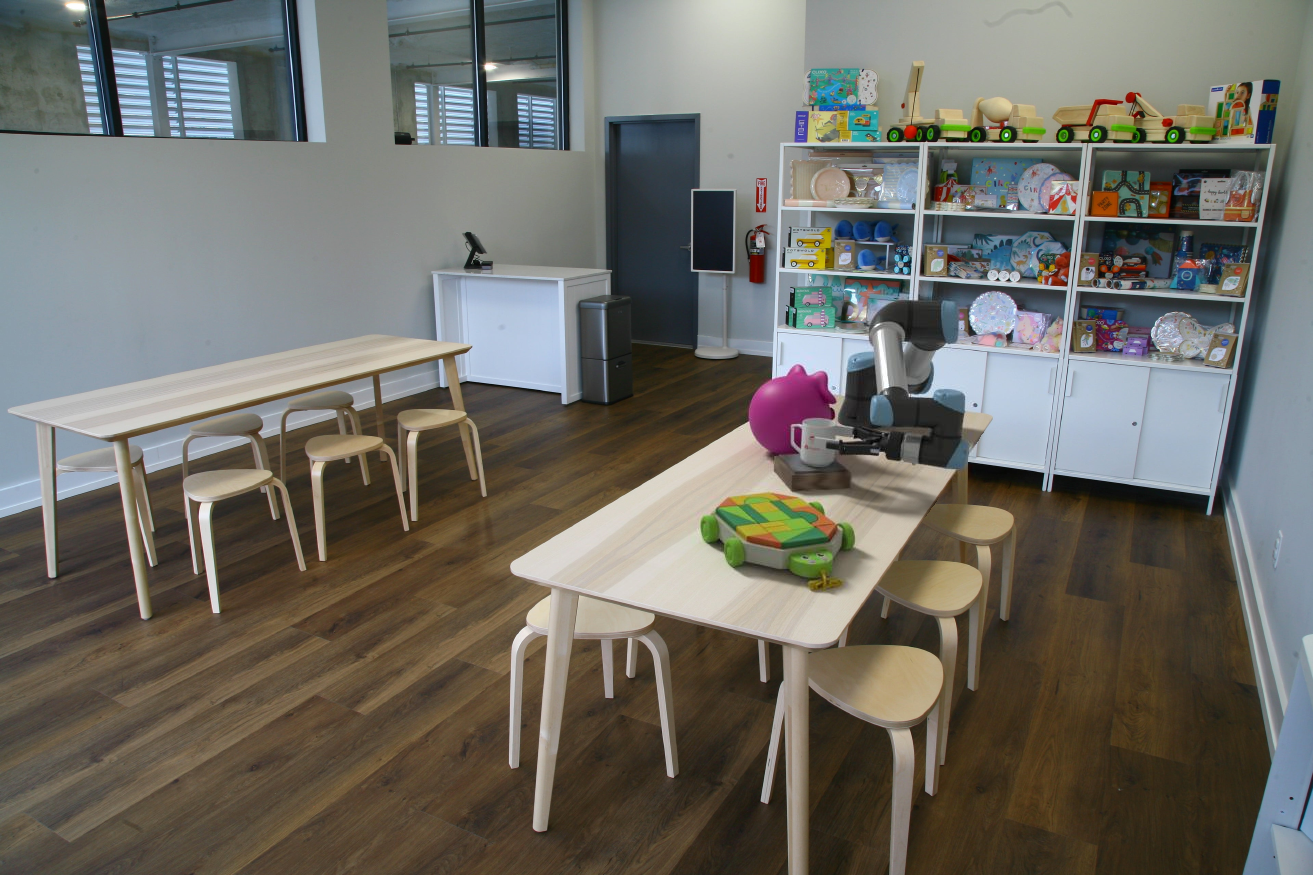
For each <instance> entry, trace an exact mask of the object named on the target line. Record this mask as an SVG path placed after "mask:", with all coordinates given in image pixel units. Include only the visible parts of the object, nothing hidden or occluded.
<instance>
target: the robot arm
mask: <svg viewBox="0 0 1313 875" xmlns="http://www.w3.org/2000/svg"><path fill="white" fill-rule="evenodd" d="M959 310H960V309H959V305H958V303H957V302H956V301H951V300H949V301H948V300H945V299H944V300H920V299H919V300H918V299H916V300H913V299H898V300H893V301H890V302H889V303H887V304H885V305H884V306H882V307H881V308H880V309H879V310H878V311H877V312H876V313H875V315H874V316H873V317H872V319H871V321H870V323H869V326H868V341H869V343H870V345H871V347H873V351H862V352H857V353H854V354H852V355H851V356H849V357H848V359H847V367H846V369H845V371H846V378H845V379H846V380H845V392H844V398H843V402H842V404H841V407H840V409H839V411H838V414H837V422H838V423H839V424H841V425H839V424H837V427H836V437H845V438H853V440H852V441H851V440H850V441H843V439H841V438H839V439H836V440H833V439H826V438H819V437H815V438H814V448H819V449H826V450H832V451H835V452H838V455H840V456H872V457H873V456H874V457H878V456H879V455H880V453H884V454H885V458H886V460H888V461H893V462H895V461H896V462H900V461H903V463H909V464H911V465H912V466H916V465H924V466H927V467H928V466H929V467H935V468H941V469H945V470H955V471H956V470H959V471H960V470H961V471H962V470H964V469H965V468H966V467H967V464H968V461H969V456H970V446H971V445H970V441H968V440H966V439H963V436H962V434H963V433H962V432H963V426H964V418H965V413H966V395H965V394H964V393H963V391H960V390H957V389H952V388H939V389H936V390H934V393H933V395H932V397H922V396H921V397H919V396H918V395H926V394H927V393H928V392H929V391H930V389H931V388H932V385H933V382H934V375H935V366H934V362H933V361H932V360H933V358H934V356H935V354H936V351H938V350H940V349H942V348H943V347H944V346H945V345H946V344H947V345H951V344H953V345H954V344H956V343H957V342H958V339H959V330H960V321H959V320H960V311H959ZM903 343H906V345H905V348H904V346H903ZM909 395H917V396H918V397H917V396H909ZM880 427H886V428H915V429H916V428H917V429H929V435H927V434H922V433H915V432H907V433H905V432H904V431H897V430H890V431H889V432H886V431H881V430H877V429H874V428H880ZM857 439H858V440H857ZM854 440H855V441H854ZM879 457H880V456H879Z"/></svg>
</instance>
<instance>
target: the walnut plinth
mask: <svg viewBox="0 0 1313 875" xmlns="http://www.w3.org/2000/svg"><path fill="white" fill-rule="evenodd" d="M773 472H774V473H775V475H777V477H778V478H779V479H780V480H781V481H782V482H783V484H784V485H785V486H786V487H787V488H788V489H789V490H790V492H801V491H805V492H806V491H818V490H820V491H821V490H823V491H824V490H839V489H840V490H842V489H843V490H845V489H846V490H847V489H851V481H852V472H851V471H850V470H849V469H848V468H847V467H846V466H844V465H843V463H841V462H840V461H839V460H838V459H837V458H836V457H834V461H833V462H832V463H831V464H830V465H829V466H826V467H813V466H808V465H806V464H804V463H803V461H802V460H801V458H800V454H786V455H780V454H778V455H774V459H773Z"/></svg>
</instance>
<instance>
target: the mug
mask: <svg viewBox="0 0 1313 875" xmlns="http://www.w3.org/2000/svg"><path fill="white" fill-rule="evenodd" d="M837 425H838V424H837V422H836V421H834V420H828V419H822V418H811V419H806V420H804V421H803V422H802V425H801V424H792V425H791V445H792V446H793V447H794V448H795V449H796V450H797V451H798V452H799V453H800V458H801V460H802V461H803V463H804V464H806V465H808V466H813V467H826V466H829V465H830V464H831V463H832V462H833V461H834V458H835V455H836V454H835V452H836V451H832V450H826V449H819V448H814V438H815V437H819V438H826V439H833V440H837V439H836V438H837V435H836V427H837ZM796 426H798V427H800V428H801V429H802V438H801V449H800V448H799V447H798V446H797V445H796V444H795V443H794V427H796Z"/></svg>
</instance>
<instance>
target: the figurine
mask: <svg viewBox="0 0 1313 875" xmlns="http://www.w3.org/2000/svg"><path fill="white" fill-rule="evenodd" d="M837 402H838V401H837V399H836V397H835V395H834V394H833V393H832V392H831V390H829V377H828V373H827V372H826V371H825V370H819V371H817V372H814V373H812V374H809V375H808V373H807V371H806V369H805V367H804V366H803V365H801V364H795V365H793V366H792V367H791V368H790V369H789V371H788V373H787V374H786V375H784V376H779V377H778V376H777V377H775V378H773V379H770V380H768V381H766V382H765V383H763V384H762V385H761V386H760V387H759V388H758V389H757V390H756V391H755V393H754V395H753V396H752V399H751V401H750V403H749V409H748V423H749V426H750V430H751V432H752V435H753V437H754V438H755V440H756V441H757V442H758V443H759V445H760V446H761V447H763V448H764V449H766V450H767V451H769V452H771V453H774V454H776V455H786V454H800V453H799V452H798V451H797V450H796V449H795V448H794V447H793V446H792V445H791V425H792V424H801V425H802V422H803V421H804V420H806V419H811V418H822V419H828V420H832V421H834V420H835V418H836V411H835V410H834V408H833V407H831V406H830V405H836V403H837ZM801 438H802V429H801V428H800V427H798V426H796V427H794V443H795V444H796V445H797V446H798V447H799V448H800V449H801Z"/></svg>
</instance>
